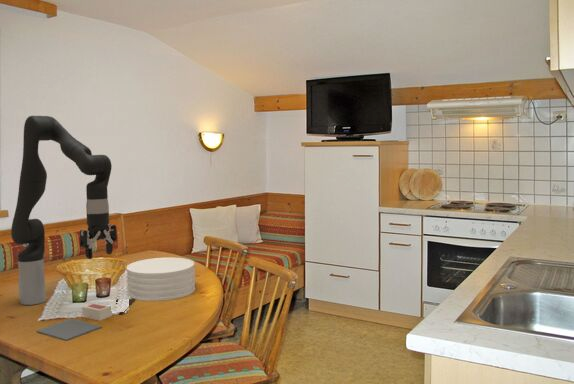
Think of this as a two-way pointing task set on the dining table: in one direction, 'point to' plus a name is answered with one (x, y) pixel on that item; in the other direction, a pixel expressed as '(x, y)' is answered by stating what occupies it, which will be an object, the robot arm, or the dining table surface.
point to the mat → (68, 329)
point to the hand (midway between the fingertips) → (99, 256)
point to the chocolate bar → (122, 312)
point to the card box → (96, 311)
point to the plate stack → (160, 279)
